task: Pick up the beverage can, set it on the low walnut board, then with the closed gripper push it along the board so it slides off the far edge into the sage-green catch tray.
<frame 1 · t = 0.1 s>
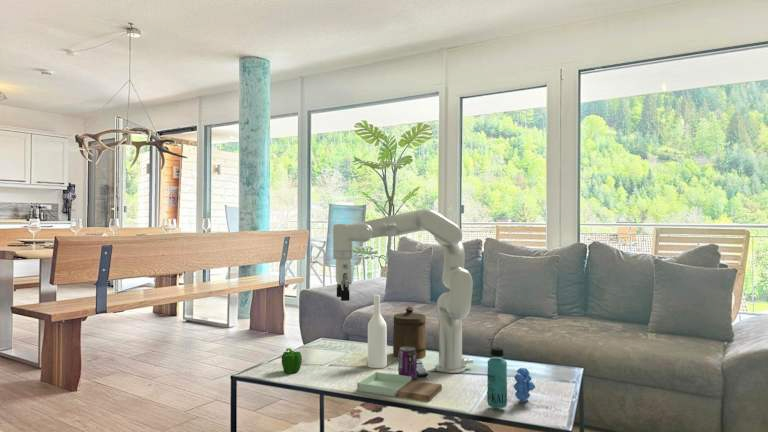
hand: (342, 298, 204), 31 cm above the table, tool pointing down, fingers open, 9 cm apart
grapes: (525, 403, 176), on the table
wooden container: (409, 355, 237), on the table
beverage bottle: (497, 409, 170), on the table
beverage can: (407, 379, 202), on the table
board: (419, 393, 186), on the table
bell pepper: (291, 372, 213), on the table
tray: (384, 387, 192), on the table
bottle: (377, 366, 221), on the table
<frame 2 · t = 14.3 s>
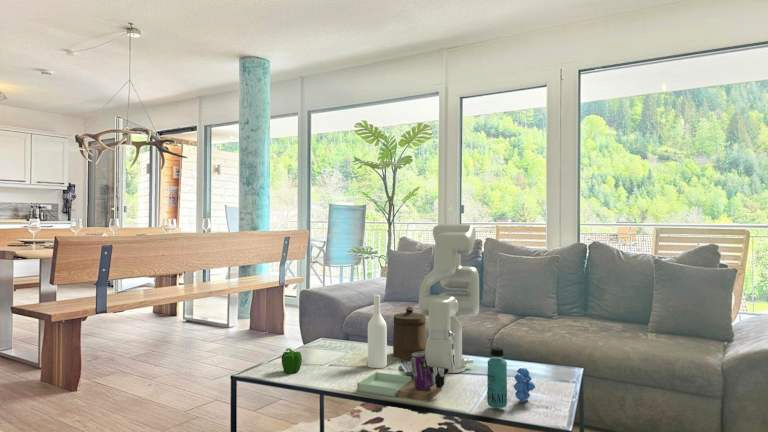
hand: (439, 386, 182), 4 cm above the table, tool pointing down, fingers closed
beverage can: (424, 387, 185), point 2 cm above the table, touching board, gripper
everything else where it was.
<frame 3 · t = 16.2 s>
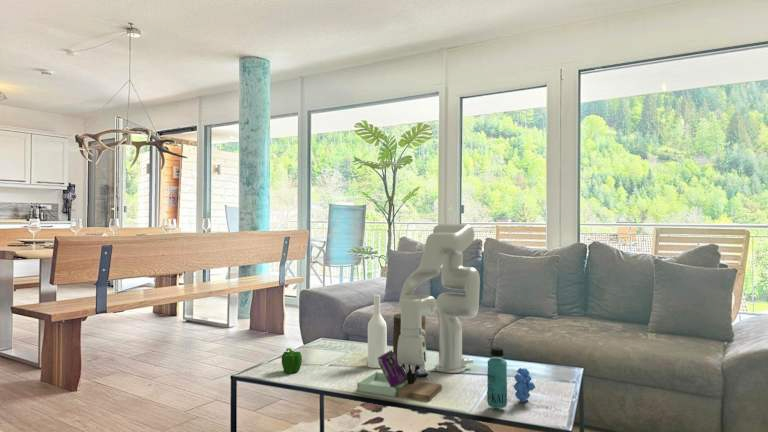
hand: (411, 383, 187), 3 cm above the table, tool pointing down, fingers closed
beverage can: (400, 384, 190), point 2 cm above the table, touching gripper
everything else where it was.
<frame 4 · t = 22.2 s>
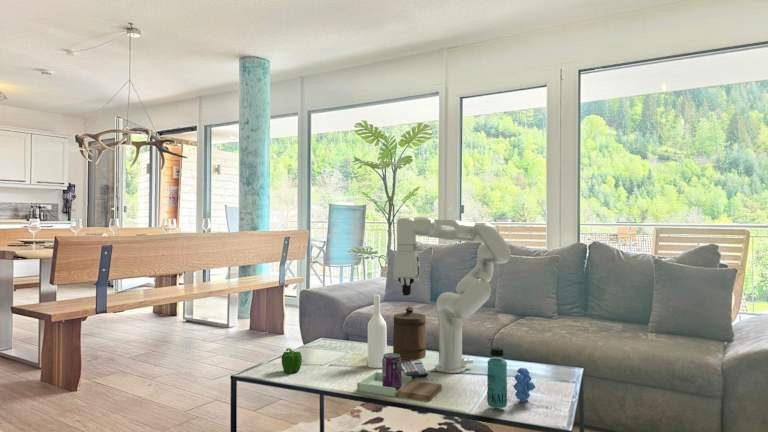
hand: (406, 295, 206), 32 cm above the table, tool pointing down, fingers closed
beverage can: (392, 388, 191), resting on tray
everything else where it was.
at the end: beverage can touching tray; beverage can 3.0 cm from the tray (horizontally); beverage can resting on tray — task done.
